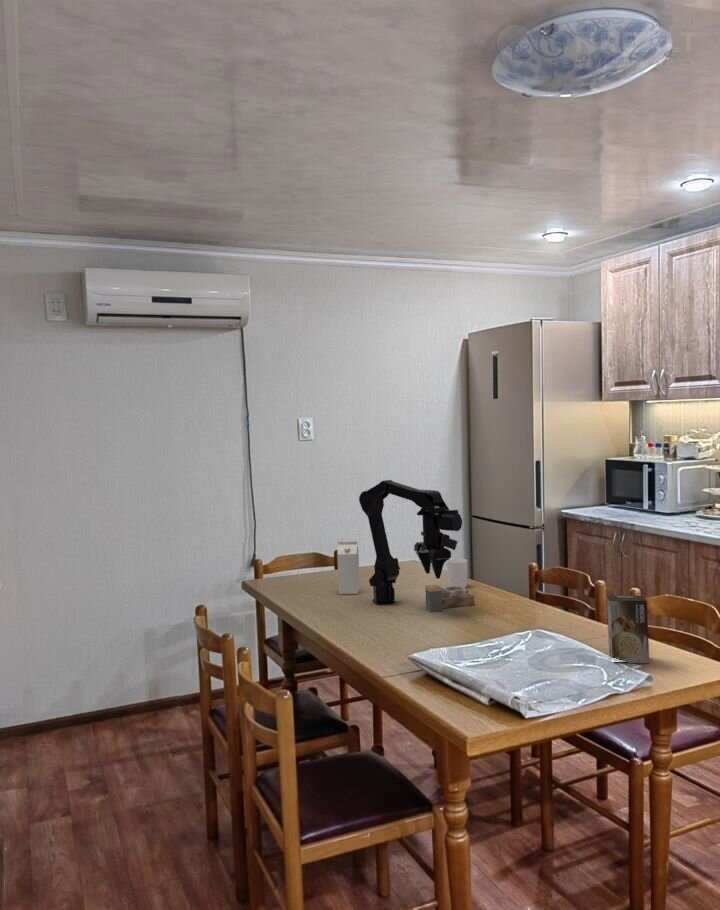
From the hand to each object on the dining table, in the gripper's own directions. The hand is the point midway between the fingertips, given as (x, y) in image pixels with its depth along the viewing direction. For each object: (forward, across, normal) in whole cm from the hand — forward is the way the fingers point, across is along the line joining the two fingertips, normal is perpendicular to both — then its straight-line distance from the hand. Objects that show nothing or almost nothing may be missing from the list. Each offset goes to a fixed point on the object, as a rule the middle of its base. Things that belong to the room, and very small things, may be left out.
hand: (432, 576), depth 253 cm
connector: (+11, 0, 0) cm, 11 cm away
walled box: (+11, +6, -9) cm, 16 cm away
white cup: (+12, +29, -21) cm, 38 cm away
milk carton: (+12, +37, +19) cm, 44 cm away
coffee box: (+12, -68, -27) cm, 74 cm away
